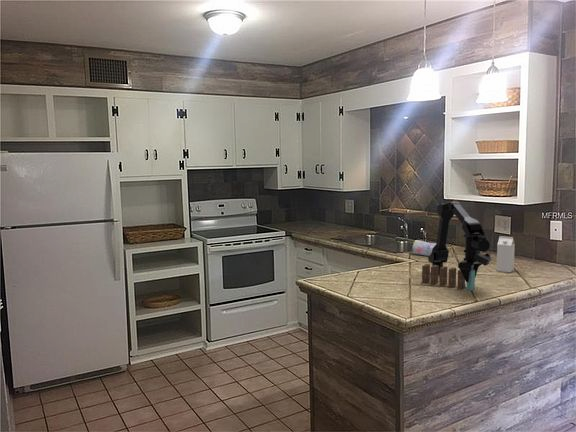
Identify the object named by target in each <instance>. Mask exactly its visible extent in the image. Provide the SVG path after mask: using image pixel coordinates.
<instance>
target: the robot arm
mask: <svg viewBox="0 0 576 432" xmlns="http://www.w3.org/2000/svg"><path fill="white" fill-rule="evenodd" d="M436 209H437V216H438V217H439V221H438V222H439V223H438V230H437V237H436V245H435V246H434V247H433V249H432V253H431V254H430V256H427V257H428V258H427V261H428V262H429V264H431V267H432V266H434V265H438V266H439V272H438V276H440V268H441V267H443V266H444V263H447V262H448V259H449V253H450V251H449V249H448V248H447V242H448V234H449V226H450V221H451V220H452V218H453V217H454V215H455V217H456V218H457V220H458V221H459V222H460V223H461V229H462V231H463V232H464V233H465V234H464V235H463V238H465V239H464V240H465V243H464V244H465V246H464V249H463V253H464V258H463V260H461V261H460V262H459V263H457V268H458V270H461V272H462V274H463V276H464V278H465V283H467V282H469V278H470V273H471V271H472V270H475V278H476V276H477V273H478V271H479V267H481V266H482V265H483V266H485V267H486V266H488V265H489V264H490V262H491V260H492V257H491V254H490V253H488V251H489V250H490V247H491V244H490V242H489V240H488V239H487V237H486V235H485V234H486V233H485V231H484V230H483V226H482V224H481V222H479V220H477V219H476V218H473V217H471V216H470V214H469V213H468V212H467V211H466V210H465V209H464V208H463V206H462V204H461V202H459V201H450V202H447V203H446V202H445V203H439V204H438V205H437V208H436ZM481 252H483V253H481ZM484 253H485V254H484Z"/></svg>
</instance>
